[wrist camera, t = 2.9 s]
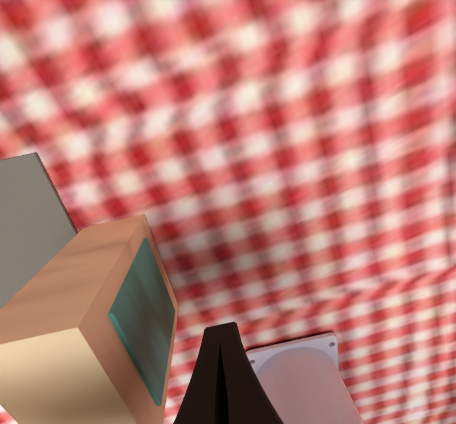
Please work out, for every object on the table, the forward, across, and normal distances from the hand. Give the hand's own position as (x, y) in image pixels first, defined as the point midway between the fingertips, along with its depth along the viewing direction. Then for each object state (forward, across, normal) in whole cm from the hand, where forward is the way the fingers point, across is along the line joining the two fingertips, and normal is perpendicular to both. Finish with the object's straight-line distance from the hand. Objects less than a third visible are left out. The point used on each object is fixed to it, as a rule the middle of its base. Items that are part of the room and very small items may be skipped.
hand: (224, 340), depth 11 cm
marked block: (+7, +6, 0) cm, 9 cm away
